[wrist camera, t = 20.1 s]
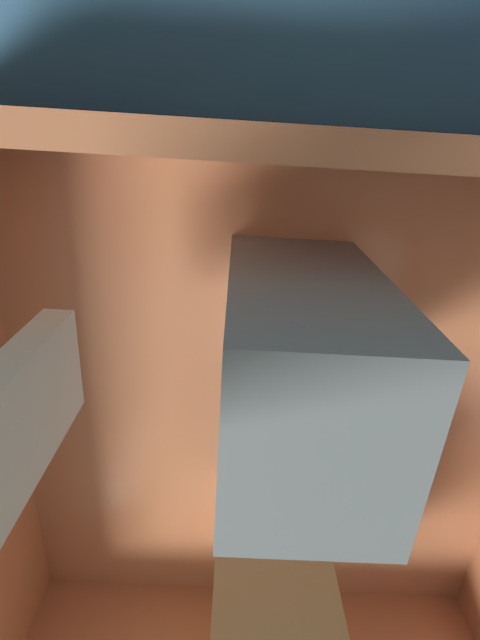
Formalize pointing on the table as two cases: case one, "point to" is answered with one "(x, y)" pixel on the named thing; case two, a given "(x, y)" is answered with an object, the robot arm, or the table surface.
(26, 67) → the table surface
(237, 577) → the tall cardboard carton
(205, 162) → the orange square tray
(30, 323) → the robot arm
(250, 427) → the pale grey box block
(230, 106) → the table surface
